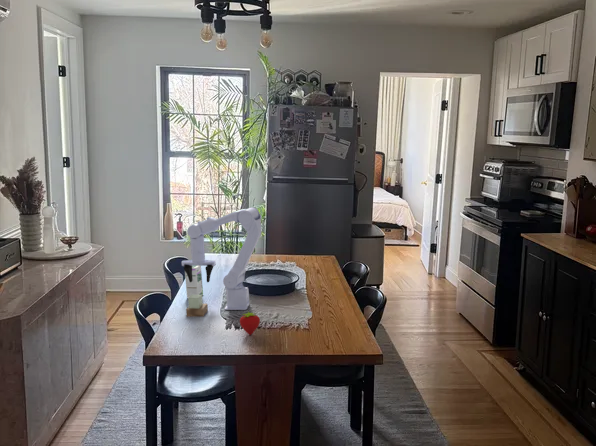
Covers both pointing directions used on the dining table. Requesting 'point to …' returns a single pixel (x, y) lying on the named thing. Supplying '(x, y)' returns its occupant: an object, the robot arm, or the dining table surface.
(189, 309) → the block
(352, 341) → the dining table surface
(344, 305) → the dining table surface
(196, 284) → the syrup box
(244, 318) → the strawberry
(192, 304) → the green cube
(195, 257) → the robot arm
